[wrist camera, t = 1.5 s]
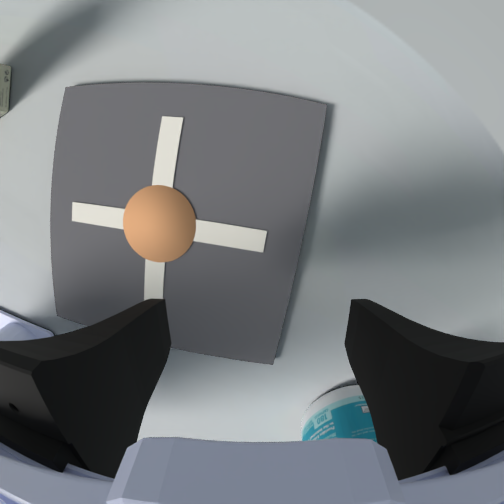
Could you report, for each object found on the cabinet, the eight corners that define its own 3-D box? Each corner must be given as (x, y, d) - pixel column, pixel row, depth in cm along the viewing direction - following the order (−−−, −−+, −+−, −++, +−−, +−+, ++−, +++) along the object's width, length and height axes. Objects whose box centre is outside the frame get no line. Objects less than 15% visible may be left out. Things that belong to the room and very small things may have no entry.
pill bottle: (305, 383, 20) (334, 558, 7) (397, 375, 19) (468, 514, 6) (294, 442, 22) (306, 578, 9) (373, 434, 21) (411, 554, 8)
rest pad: (272, 359, 19) (272, 365, 18) (61, 312, 19) (56, 316, 18) (324, 106, 15) (327, 104, 14) (70, 88, 14) (64, 86, 13)
